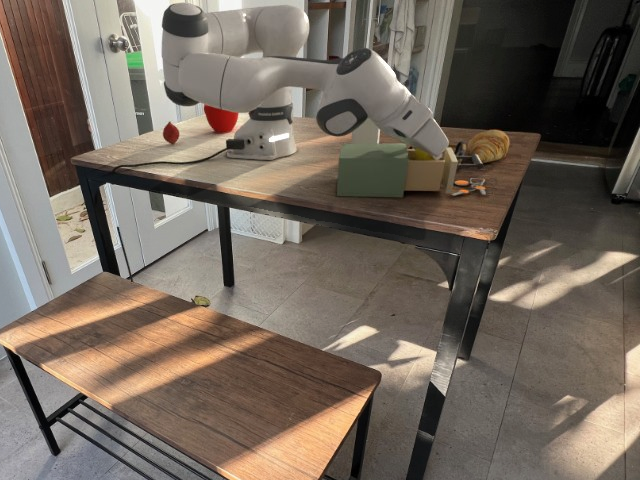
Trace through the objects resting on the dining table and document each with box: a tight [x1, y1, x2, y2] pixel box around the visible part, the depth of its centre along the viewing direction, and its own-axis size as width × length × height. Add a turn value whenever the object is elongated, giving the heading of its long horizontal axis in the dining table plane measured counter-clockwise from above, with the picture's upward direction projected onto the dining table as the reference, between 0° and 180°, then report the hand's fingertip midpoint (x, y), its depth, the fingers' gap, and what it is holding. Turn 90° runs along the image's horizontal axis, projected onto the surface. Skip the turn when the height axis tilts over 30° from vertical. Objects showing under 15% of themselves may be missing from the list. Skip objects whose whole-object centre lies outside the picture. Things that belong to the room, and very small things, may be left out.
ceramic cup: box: [203, 104, 240, 134], centre depth 167 cm, size 13×17×10 cm
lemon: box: [414, 148, 434, 160], centre depth 101 cm, size 6×6×8 cm
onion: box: [162, 121, 180, 146], centre depth 155 cm, size 6×6×8 cm
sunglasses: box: [407, 140, 467, 172], centre depth 118 cm, size 14×15×5 cm
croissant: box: [467, 129, 510, 164], centre depth 120 cm, size 21×10×8 cm, turn 143°
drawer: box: [404, 148, 484, 195], centre depth 102 cm, size 20×11×7 cm, turn 75°
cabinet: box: [336, 142, 408, 198], centre depth 105 cm, size 15×12×9 cm
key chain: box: [451, 177, 487, 197], centre depth 102 cm, size 13×7×1 cm, turn 151°
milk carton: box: [350, 118, 381, 144], centre depth 121 cm, size 7×7×19 cm
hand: (429, 153), depth 100 cm, fingers closed on lemon, 5 cm apart
